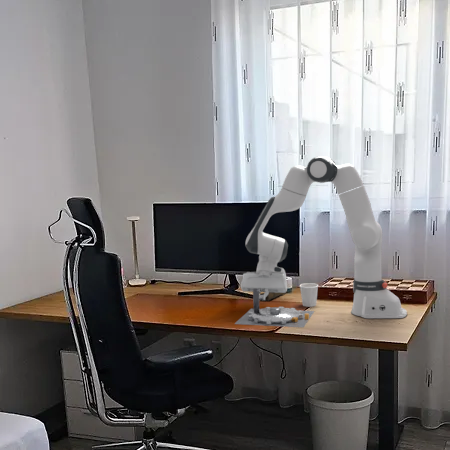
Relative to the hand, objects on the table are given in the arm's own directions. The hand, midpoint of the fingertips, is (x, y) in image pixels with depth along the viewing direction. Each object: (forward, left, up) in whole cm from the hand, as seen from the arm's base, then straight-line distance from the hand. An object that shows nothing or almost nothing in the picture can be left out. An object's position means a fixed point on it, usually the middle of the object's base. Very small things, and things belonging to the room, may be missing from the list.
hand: (261, 299), depth 248 cm
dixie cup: (-18, -16, -7) cm, 25 cm away
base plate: (-8, +7, -7) cm, 12 cm away
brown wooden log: (+2, -33, -7) cm, 34 cm away
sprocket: (-8, +7, -6) cm, 12 cm away
